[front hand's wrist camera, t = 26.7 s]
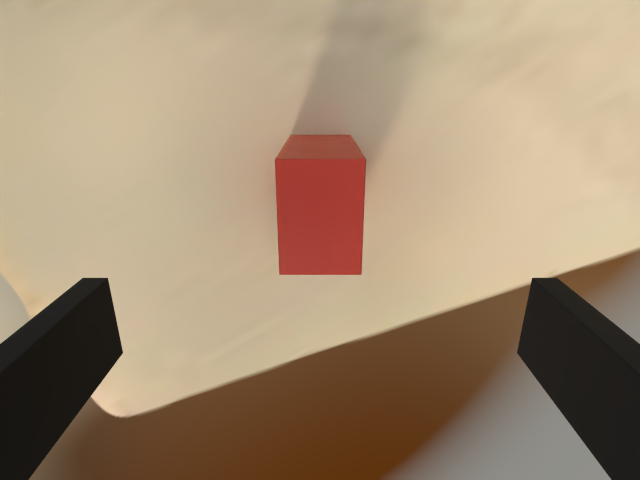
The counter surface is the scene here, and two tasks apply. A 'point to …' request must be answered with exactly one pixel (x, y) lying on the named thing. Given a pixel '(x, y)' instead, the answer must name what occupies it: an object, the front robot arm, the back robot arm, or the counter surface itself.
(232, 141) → the counter surface
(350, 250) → the brick
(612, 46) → the counter surface
